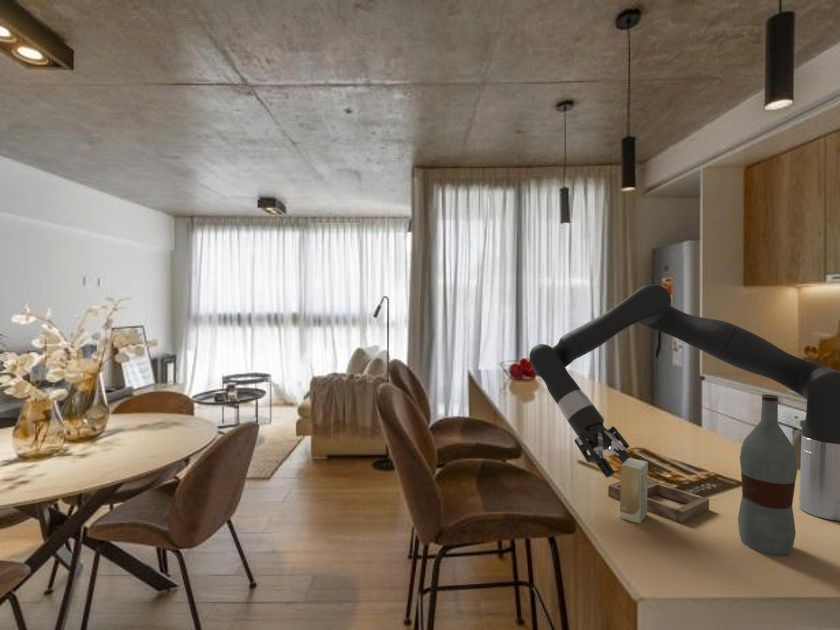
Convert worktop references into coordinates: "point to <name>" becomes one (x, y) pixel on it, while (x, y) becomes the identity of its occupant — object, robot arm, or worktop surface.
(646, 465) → the skincare box
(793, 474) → the bottle
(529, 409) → the worktop surface
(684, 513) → the slot holder
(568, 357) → the robot arm
